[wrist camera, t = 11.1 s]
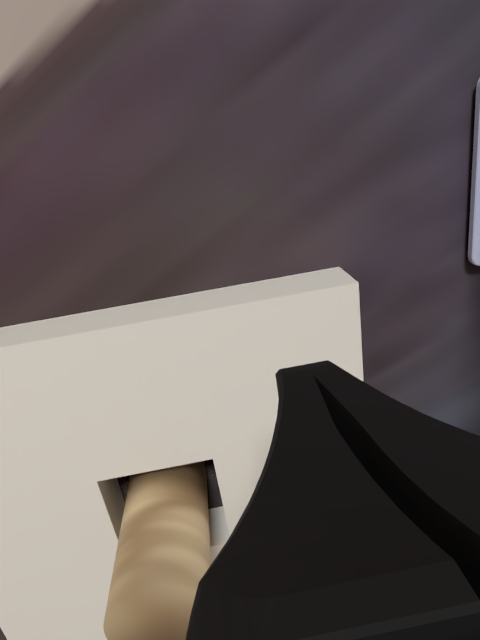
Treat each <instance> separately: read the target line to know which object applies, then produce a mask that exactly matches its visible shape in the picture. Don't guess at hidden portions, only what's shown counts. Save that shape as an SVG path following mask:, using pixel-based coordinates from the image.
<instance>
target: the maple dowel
mask: <svg viewBox="0 0 480 640" xmlns="http://www.w3.org/2000/svg"><path fill="white" fill-rule="evenodd" d="M210 565H211V553H210V533H209V513H208V493H207V473H206V465H205V462H204V461H200V462H195V463H190V464H185V465H180V466H174V467H169V468H164V469H159V470H154V471H149V472H144V473H139V474H133V475H130V479H129V484H128V490H127V495H126V501H125V507H124V512H123V518H122V523H121V529H120V534H119V540H118V545H117V551H116V557H115V562H114V568H113V573H112V579H111V584H110V590H109V596H108V601H107V607H106V612H105V618H104V625H103V628H104V633H105V636H106V638H107V640H185V639H186V633H187V629H188V624H189V620H190V615H191V611H192V607H193V603H194V599H195V595H196V591H197V587H198V584H199V581H200V580H201V578H202V577H203V576H204V574H205V573H206V571H207V570H208V568H209V567H210Z"/></svg>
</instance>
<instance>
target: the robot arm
mask: <svg viewBox="0 0 480 640" xmlns="http://www.w3.org/2000/svg"><path fill="white" fill-rule="evenodd" d="M468 260H469V261H470V263H472V264H474V265H477V266H480V78H479V80H478V82H477V86H476V102H475V122H474V142H473V161H472V181H471V201H470V221H469V241H468ZM275 376H276V383H277V390H278V397H279V401H278V411H277V419H276V424H275V428H274V433H273V438H272V442H271V445H270V449H269V452H268V456H267V459H266V462H265V465H264V467H263V470H262V473H261V475H260V478H259V480H258V482H257V485H256V487H255V490H254V492H253V494H252V496H251V498H250V501H249V503H248V505H247V506H246V508H245V510H244V512H243V514H242V516H241V517H240V519H239V521H238V523H237V525H236V526H235V528H234V530H233V532H232V534H231V535H230V537H229V539H228V540H227V542H226V544H225V545H224V546H223V548H222V549H221V551H220V552H219V554H218V555H217V557H216V558H215V560H214V561H213V562H212V564H211V565H210V567H209V568H208V570H207V571H206V573H205V574H204V576H203V577H202V578H201V580H200V581H199V584H198V587H197V591H196V595H195V599H194V603H193V607H192V611H191V615H190V620H189V624H188V629H187V633H186V639H185V640H480V436H478V435H475V434H473V433H470V432H467V431H464V430H462V429H459V428H457V427H454V426H452V425H449V424H447V423H444V422H442V421H439V420H437V419H434V418H432V417H430V416H427V415H425V414H423V413H421V412H419V411H417V410H415V409H413V408H411V407H409V406H406V405H404V404H402V403H400V402H398V401H396V400H395V399H393V398H391V397H389V396H387V395H385V394H384V393H382V392H380V391H378V390H376V389H375V388H373V387H371V386H370V385H368V384H366V383H365V382H363V381H361V380H360V379H358V378H356V377H355V376H353V375H351V374H350V373H348V372H347V371H345V370H343V369H342V368H340V367H339V366H337V365H335V364H334V363H332V362H330V361H329V360H326V361H321V362H315V363H310V364H305V365H299V366H294V367H289V368H283V369H279V370H278V371H277V373H276V374H275Z"/></svg>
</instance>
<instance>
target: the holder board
mask: <svg viewBox="0 0 480 640" xmlns="http://www.w3.org/2000/svg"><path fill="white" fill-rule="evenodd" d="M326 360H329V361H330V362H332V363H334V364H335V365H337V366H339V367H340V368H342V369H343V370H345V371H347V372H348V373H350V374H351V375H353V376H355V377H356V378H358V379H360V380H361V381H363V363H362V343H361V323H360V303H359V283H358V282H357V281H356V280H355V279H353V278H352V277H351V276H350V275H349V274H347V273H346V272H345V271H344V270H343V269H341V268H340V267H335V268H329V269H324V270H318V271H313V272H307V273H302V274H296V275H290V276H285V277H279V278H274V279H268V280H263V281H257V282H251V283H246V284H240V285H235V286H229V287H224V288H218V289H212V290H207V291H201V292H196V293H190V294H185V295H179V296H173V297H168V298H162V299H157V300H151V301H146V302H140V303H134V304H129V305H123V306H118V307H112V308H107V309H101V310H95V311H90V312H84V313H79V314H73V315H68V316H62V317H56V318H51V319H45V320H40V321H34V322H29V323H23V324H17V325H12V326H6V327H1V328H0V627H1V629H2V631H3V633H4V635H5V636H6V638H7V640H107V638H106V636H105V633H104V628H103V625H104V618H105V612H106V607H107V601H108V596H109V590H110V584H111V579H112V573H113V568H114V562H115V557H116V551H117V545H118V540H119V534H120V529H121V523H122V518H123V512H124V507H125V501H124V498H123V495H122V492H121V489H120V486H119V483H118V480H117V478H118V477H123V476H128V475H133V474H139V473H144V472H149V471H154V470H159V469H164V468H169V467H174V466H180V465H185V464H190V463H195V462H200V461H205V460H210V459H213V462H214V466H215V471H216V476H217V480H218V485H219V489H220V494H221V498H222V503H223V506H221V507H216V508H211V509H208V513H209V533H210V553H211V564H212V562H213V561H214V560H215V558H216V557H217V555H218V554H219V552H220V551H221V549H222V548H223V546H224V545H225V544H226V542H227V540H228V539H229V537H230V535H231V534H232V532H233V530H234V528H235V526H236V525H237V523H238V521H239V519H240V517H241V516H242V514H243V512H244V510H245V508H246V506H247V505H248V503H249V501H250V498H251V496H252V494H253V492H254V490H255V487H256V485H257V482H258V480H259V478H260V475H261V473H262V470H263V467H264V465H265V462H266V459H267V456H268V452H269V449H270V445H271V442H272V438H273V433H274V428H275V424H276V419H277V411H278V401H279V397H278V390H277V383H276V376H275V374H276V373H277V371H278V370H279V369H283V368H289V367H294V366H299V365H305V364H310V363H315V362H321V361H326Z"/></svg>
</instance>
